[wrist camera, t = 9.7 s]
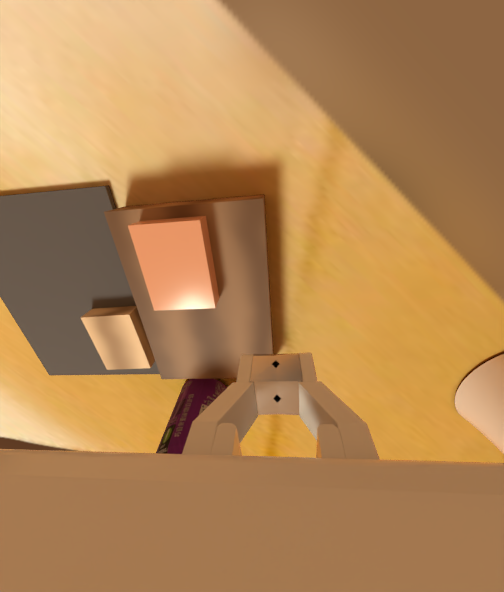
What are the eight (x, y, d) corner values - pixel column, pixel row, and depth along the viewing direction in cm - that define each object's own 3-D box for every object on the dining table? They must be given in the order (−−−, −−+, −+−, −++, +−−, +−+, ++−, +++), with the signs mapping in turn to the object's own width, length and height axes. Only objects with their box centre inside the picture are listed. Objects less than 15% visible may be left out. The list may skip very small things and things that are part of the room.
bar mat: (108, 185, 24) (105, 186, 23) (168, 370, 34) (166, 373, 34) (-53, 201, 25) (-60, 201, 25) (52, 372, 36) (49, 375, 36)
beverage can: (176, 375, 35) (135, 465, 24) (223, 369, 34) (201, 461, 23) (193, 408, 38) (163, 501, 27) (236, 404, 37) (223, 499, 26)
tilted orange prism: (205, 215, 21) (199, 219, 19) (219, 298, 24) (215, 308, 23) (139, 221, 21) (127, 225, 20) (162, 300, 25) (154, 310, 23)
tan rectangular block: (137, 305, 29) (129, 314, 27) (157, 357, 33) (150, 368, 31) (91, 308, 30) (80, 317, 28) (115, 359, 33) (107, 369, 32)
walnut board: (264, 194, 23) (263, 198, 20) (273, 357, 32) (274, 377, 29) (125, 206, 24) (103, 211, 21) (171, 359, 33) (161, 379, 30)
